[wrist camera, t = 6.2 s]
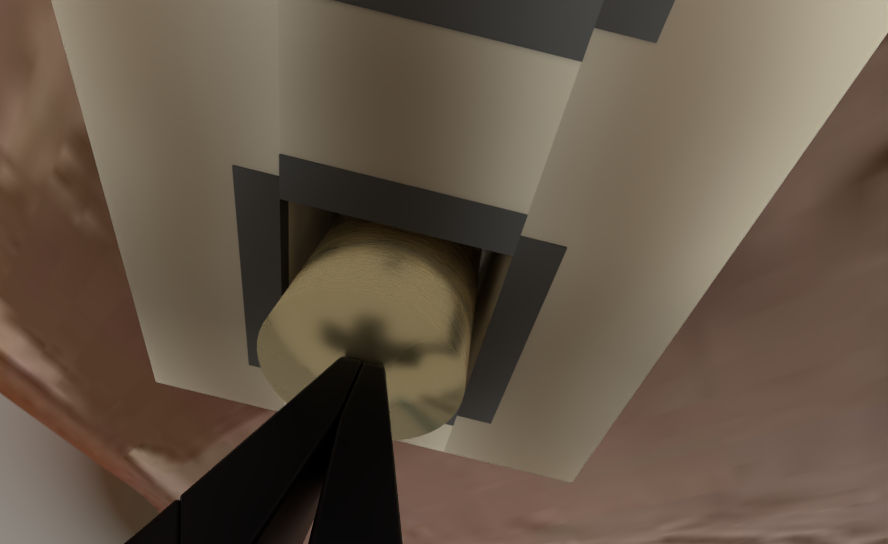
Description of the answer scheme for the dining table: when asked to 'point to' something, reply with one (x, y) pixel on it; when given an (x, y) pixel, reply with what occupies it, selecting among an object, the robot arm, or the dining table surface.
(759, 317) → the dining table surface
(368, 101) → the collar block
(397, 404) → the brass peg
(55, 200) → the dining table surface
